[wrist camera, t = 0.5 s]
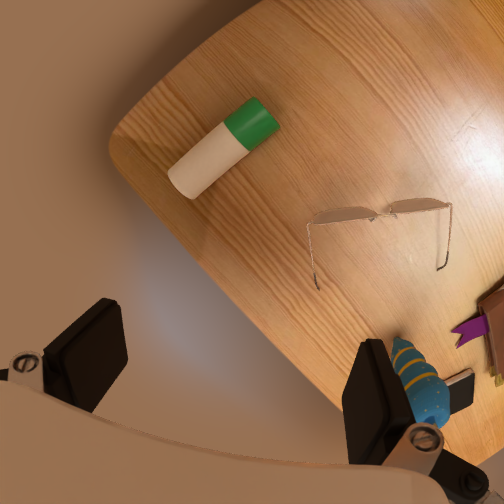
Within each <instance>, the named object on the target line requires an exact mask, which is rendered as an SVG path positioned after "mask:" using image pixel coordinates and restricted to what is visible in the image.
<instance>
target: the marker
mask: <svg viewBox="0 0 504 504" xmlns="http://www.w3.org/2000/svg"><path fill="white" fill-rule="evenodd" d="M280 128H281V127H280V125H279V124H278V123H277V121H276V120H275V119H274V118H273V116H272V115H271V114H270V113H269V112H268V111H267V109H266V108H265V107H264V106H263V105H262V104H261V103H260V102H259V101H258V100H257V98H255V97H254V96H253V97H252V98H250V99H249V100H248V101H247V102H245V103H244V104H243V105H242V106H240V107H239V108H238V109H237V110H236V111H234V112H233V113H232V114H231V115H229V116H228V117H227V118H226V119H225V120H224V121H222V122H221V123H220V124H219V125H218V126H216V127H215V128H214V129H213V130H212V131H211V132H209V133H208V134H207V135H206V136H205V137H204V138H203V139H202V140H200V141H199V142H198V143H197V144H196V145H195V146H194V147H193V148H192V149H190V150H189V151H188V152H187V153H186V154H185V155H184V156H183V157H182V158H181V159H180V160H179V161H178V162H176V163H175V164H174V165H173V166H172V167H171V168H170V169H169V170H168V176H169V178H170V180H171V182H172V183H173V185H174V186H175V187H176V188H177V190H178V191H180V192H181V193H182V194H183V195H184V196H186V197H187V198H190V199H195V198H196V197H197V196H198V195H200V194H201V193H202V192H203V191H204V190H205V189H206V188H208V187H209V186H210V185H211V184H212V183H213V182H214V181H216V180H217V179H218V178H219V177H220V176H222V175H223V174H224V173H225V172H226V171H227V170H229V169H230V168H231V167H232V166H233V165H235V164H236V163H237V162H238V161H239V160H241V159H242V158H243V157H244V156H246V155H247V154H248V153H249V152H250V151H252V150H253V149H254V148H255V147H257V146H258V145H259V144H260V143H262V142H263V141H264V140H265V139H267V138H268V137H269V136H271V135H272V134H273V133H274V132H276V131H277V130H278V129H280Z"/></svg>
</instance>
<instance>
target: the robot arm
mask: <svg viewBox="0 0 504 504" xmlns="http://www.w3.org/2000/svg"><path fill="white" fill-rule="evenodd" d="M43 351H44V355H43V356H42V357H41V356H40V354H38V353H36V352H33V351H24V352H21V353H19V354H17V355H15V356H14V357H13V358H12V359H11V361H10V364H9V368H8V369H2V370H0V504H504V499H503V498H502V497H501V496H500V495H498V493H497V492H496V491H494V490H493V491H492V492H490V491H489V490H488V487H489V480H488V478H487V475H486V474H485V473H484V472H483V471H482V470H481V469H479V468H477V467H476V466H474V465H472V464H470V463H468V462H466V461H465V460H463V459H461V458H459V457H457V456H456V455H454V454H452V453H450V452H448V451H447V450H445V449H443V446H444V437H443V435H442V432H441V431H440V430H439V429H438V428H437V427H435V426H434V425H431V424H429V423H423V422H420V423H417V422H416V420H415V417H414V414H413V411H412V408H411V405H410V402H409V400H408V397H407V394H406V392H405V389H404V386H403V384H402V381H401V378H400V376H399V375H398V374H395V371H394V368H393V366H392V363H391V361H390V358H389V355H388V353H387V350H386V348H385V345H384V343H383V341H382V340H381V339H369V338H368V339H366V341H365V342H361V344H360V346H359V349H358V352H357V355H356V358H355V361H354V364H353V367H352V370H351V372H350V375H349V378H348V381H347V383H346V386H345V389H344V391H343V394H342V407H343V415H344V423H345V431H346V440H347V449H348V459H349V464H322V463H306V462H293V461H292V462H291V461H282V460H272V459H263V458H256V457H249V456H243V455H237V454H230V453H225V452H220V451H215V450H210V449H205V448H200V447H196V446H192V445H187V444H184V443H180V442H176V441H172V440H168V439H164V438H161V437H158V436H154V435H151V434H148V433H145V432H141V431H138V430H135V429H132V428H129V427H126V426H123V425H121V424H117V423H115V422H112V421H110V420H107V419H104V418H102V417H99V416H96V415H94V414H92V412H93V411H94V409H95V408H96V406H97V405H98V403H99V402H100V400H101V399H102V398H103V396H104V395H105V393H106V392H107V390H108V389H109V388H110V387H111V385H112V384H113V383H114V381H115V379H116V378H117V377H118V376H119V374H120V373H121V372H122V370H123V369H124V367H125V366H126V364H127V361H128V355H127V349H126V343H125V336H124V329H123V322H122V314H121V307H120V305H118V304H117V301H115V300H111V299H107V298H102V299H100V300H99V301H98V302H97V303H96V304H94V305H93V306H92V307H91V308H90V309H88V310H87V311H86V312H85V313H84V314H83V315H82V316H80V317H79V318H78V319H77V320H76V321H75V322H74V323H72V324H71V325H70V326H69V327H68V328H67V329H66V330H65V331H63V332H62V333H61V334H60V335H59V336H58V337H57V338H56V339H55V340H53V341H52V342H51V343H50V344H49V345H48V346H47V347H46V348H45V349H43Z"/></svg>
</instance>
